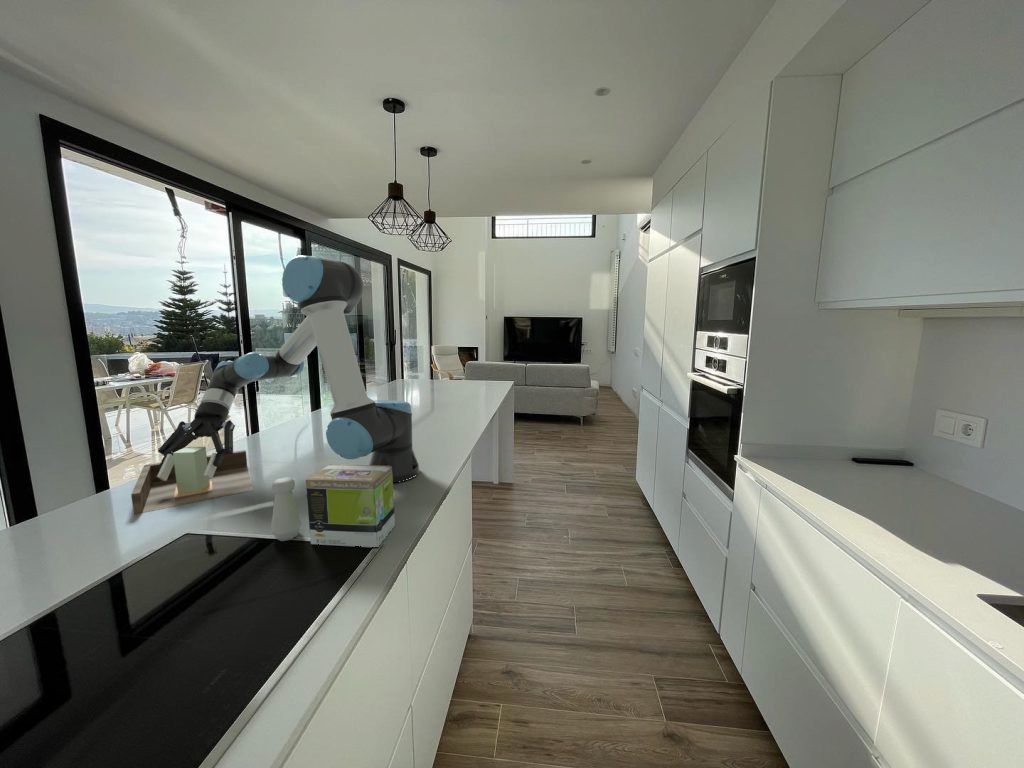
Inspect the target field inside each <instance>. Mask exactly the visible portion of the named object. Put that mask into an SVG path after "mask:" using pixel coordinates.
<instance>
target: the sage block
mask: <svg viewBox="0 0 1024 768" xmlns="http://www.w3.org/2000/svg"><path fill="white" fill-rule="evenodd" d="M207 456H208V455H207V446H186V447H185V448H183V449H180V450H178V451H176V452H174V453H173V457H174V465H175V474H176V482H177V490H178V493H186V492H199V491H201V490H202V489H204V488H205V487H207V486H208V485H210V482H209V479H208V478H207V477H205V476H204V473H205V471H206V468H207V466H208V464H207Z"/></svg>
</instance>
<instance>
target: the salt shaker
mask: <svg viewBox="0 0 1024 768" xmlns="http://www.w3.org/2000/svg"><path fill="white" fill-rule="evenodd" d="M295 487H296V482H295V480H294V479H293V477H287V476H286V477H280V478H277V479H275V480H274V481H273V482H272V483H271V491H272V492H273V493H275V494H274V502H273V510H272V517H271V525H270V531H271V533H272V535H273V536H274V537H275V539H276V540H278V541H280V542H285V541H291V540H293V539H295V538H296V537H298V536H299V532H300V530H301V527H302V519H301V516H300V512H299V510H298V505H297V504H296V500H295V496H294V493H293V490H294V489H295ZM294 537H295V538H294Z"/></svg>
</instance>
